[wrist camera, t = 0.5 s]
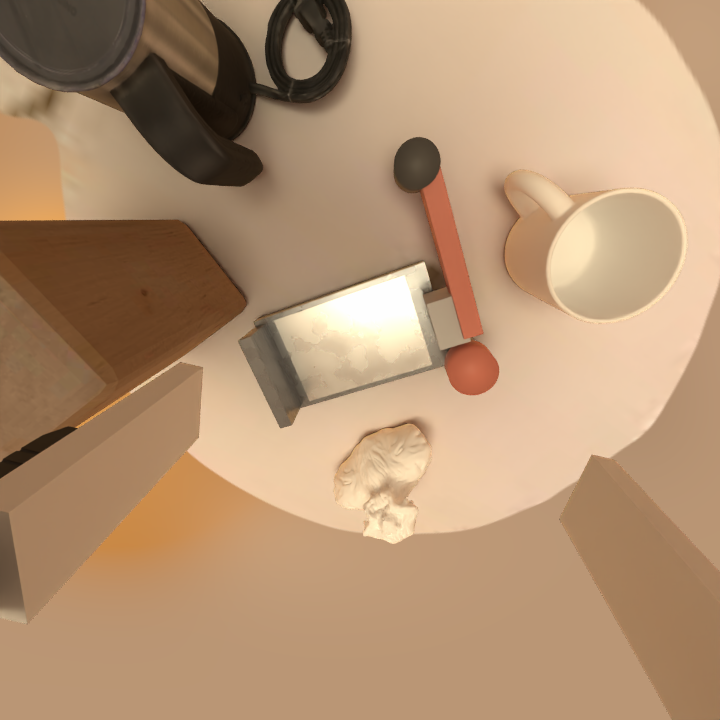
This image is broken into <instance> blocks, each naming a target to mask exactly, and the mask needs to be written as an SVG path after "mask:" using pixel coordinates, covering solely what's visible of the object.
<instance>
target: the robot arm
mask: <svg viewBox="0 0 720 720" xmlns="http://www.w3.org/2000/svg"><path fill="white" fill-rule="evenodd" d="M202 374H203V367H199V366H195V365H190V364H186V363H182V362H180V363H178V364H177V365H175V366H174V367H172V368H171V369H169V370H168V371H166V372H165V373H163V374H161V375H160V376H158V377H157V378H155V379H154V380H152V381H151V382H149V383H148V384H146V385H144V386H143V387H141V388H140V389H138V390H137V391H135V392H134V393H132V394H131V395H129V396H127V397H126V398H124V399H123V400H121V401H120V402H118V403H117V404H115V405H114V406H112V407H110V408H109V409H107V410H106V411H104V412H103V413H101V414H100V415H98V416H96V417H95V418H93V419H92V420H90V421H89V422H87V423H86V424H84V425H83V426H81V427H79V428H74V427H70V426H67V427H64V428H61V429H59V430H56V431H53V432H50V433H47V434H44V435H42V436H40V437H38V438H37V439H35V440H33V441H32V442H30V443H28V444H27V445H25V446H23V447H22V448H21V450H20V451H15V452H13V453H12V454H10V455H8V456H7V457H5V458H3V460H2V462H0V618H2V619H7V620H11V621H15V622H20V623H24V624H28V623H29V622H30V621H31V620H32V619H33V618H34V617H35V616H36V615H37V614H38V613H39V611H40V610H41V609H42V608H43V607H44V606H45V605H46V604H47V603H48V602H49V600H50V599H51V598H52V597H53V596H54V595H55V594H56V593H57V592H58V590H60V588H61V587H62V586H63V585H64V584H65V583H66V582H67V581H68V580H69V579H70V577H71V576H72V575H73V574H74V573H75V572H76V571H77V570H78V569H79V567H80V566H82V564H83V563H84V562H85V561H86V560H87V559H88V558H89V557H90V556H91V555H92V553H93V552H94V551H95V550H96V549H97V548H98V547H99V546H100V545H101V543H103V541H104V540H105V539H106V538H107V537H108V536H109V535H110V534H111V533H112V532H113V530H114V529H115V528H116V527H117V526H118V525H119V524H120V523H121V522H122V520H124V519H125V517H126V516H127V515H128V514H129V513H130V512H131V511H132V510H133V509H134V508H135V506H136V505H137V504H138V503H139V502H140V501H141V500H142V499H143V498H144V497H145V496H146V494H147V493H148V492H149V491H150V490H151V489H152V488H153V487H154V486H155V484H156V483H157V482H158V481H159V480H160V479H161V478H162V477H163V476H164V475H165V474H166V473H167V471H168V470H169V469H170V468H171V467H172V466H173V465H174V464H175V463H176V462H177V461H178V460H179V458H180V457H181V456H182V455H183V454H184V453H185V452H186V451H187V450H188V449H189V448H190V446H191V445H192V444H193V443H194V442H195V441H196V440H197V439H198V438H199V426H200V409H201V391H202ZM559 520H560V521H561V523H562V525H563V527H564V528H565V530H566V532H567V534H568V536H569V537H570V539H571V541H572V543H573V544H574V546H575V548H576V550H577V552H578V553H579V555H580V557H581V559H582V560H583V562H584V564H585V566H586V568H587V569H588V571H589V573H590V575H591V576H592V578H593V580H594V582H595V584H596V585H597V587H598V589H599V591H600V593H601V594H602V596H603V598H604V599H605V601H606V603H607V605H608V607H609V609H610V610H611V612H612V614H613V616H614V617H615V619H616V621H617V623H618V625H619V626H620V628H621V630H622V632H623V633H624V635H625V637H626V639H627V640H628V642H629V644H630V646H631V648H632V649H633V651H634V653H635V655H636V657H637V658H638V660H639V662H640V664H641V665H642V667H643V669H644V671H645V673H646V674H647V676H648V678H649V680H650V681H651V683H652V685H653V687H654V689H655V690H656V692H657V694H658V696H659V697H660V699H661V701H662V703H663V704H664V706H665V708H666V710H667V712H668V714H669V715H670V717H671V719H672V720H720V571H719V570H718V569H717V568H716V567H715V566H714V565H713V564H712V563H711V562H710V561H709V560H708V559H707V558H706V556H705V555H704V554H703V553H702V552H701V551H700V550H699V549H698V548H697V547H696V546H695V545H694V544H693V543H692V541H691V540H690V539H688V537H687V536H686V535H685V534H684V533H683V532H682V531H681V530H680V529H679V528H678V527H677V526H676V524H675V523H674V522H673V521H672V520H671V519H670V518H669V517H668V516H667V515H666V514H665V513H664V512H663V511H662V510H661V509H660V507H659V506H658V505H657V504H656V503H655V502H654V501H653V500H652V499H651V498H650V497H649V496H648V495H647V494H646V493H645V491H644V490H643V489H642V488H641V487H640V486H639V485H638V484H637V483H636V482H635V481H634V480H633V479H632V478H631V477H630V476H629V474H627V472H626V471H625V470H624V469H623V468H622V467H621V466H620V465H619V464H618V463H617V462H616V461H615V460H613V459H609V458H605V457H600V456H596V455H591V457H590V459H589V461H588V463H587V465H586V467H585V469H584V471H583V473H582V475H581V477H580V479H579V481H578V483H577V485H576V487H575V489H574V490H573V492H572V494H571V496H570V498H569V500H568V502H567V504H566V506H565V508H564V510H563V512H562V515H561V516H560V518H559Z"/></svg>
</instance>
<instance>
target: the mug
mask: <svg viewBox="0 0 720 720" xmlns="http://www.w3.org/2000/svg"><path fill="white" fill-rule="evenodd" d="M504 189H505V194H506V196H507V198H508V200H509V201H510V203H511V205H512V206H513V207H514V209H515V210H516V211H517V213H518V214H519V215H520V216H521V217H520V218H519V219H518V220H517V222H516V223H515V224H514V226H513V227H512V229H511V231H510V233H509V235H508V238H507V241H506V245H505V263H506V267H507V270H508V273H509V275H510V276H511V278H512V279H513V281H514V282H515V283H516V284H517V285H518V286H519V287H520V288H521V289H523V290H524V291H526V292H527V293H529V294H531V295H533V296H535V297H537V298H539V299H540V300H542V301H544V302H546V303H548V304H550V305H552V306H553V307H555V308H557V309H559V310H561V311H563V312H565V313H566V314H568V315H570V316H572V317H574V318H576V319H578V320H581V321H584V322H589V323H598V324H602V323H613V322H619V321H622V320H626V319H628V318H631V317H634V316H636V315H638V314H640V313H642V312H644V311H645V310H647V309H648V308H650V307H651V306H652V305H654V304H655V303H656V302H657V301H659V300H660V299H661V298H662V297H663V296H664V295H665V294H666V292H667V291H668V290H669V289H670V288H671V286H672V285H673V283H674V282H675V280H676V279H677V277H678V275H679V273H680V271H681V269H682V267H683V264H684V261H685V257H686V253H687V244H688V240H687V230H686V225H685V223H684V220H683V217H682V216H681V214H680V212H679V210H678V209H677V208H676V207H675V206H674V204H673V203H671V202H670V201H669V200H668V199H667V198H665V197H664V196H662V195H660V194H658V193H656V192H653V191H651V190H646V189H642V188H621V189H614V190H606V191H599V192H591V193H584V194H576V195H569V196H568V195H567V194H566V193H565V192H564V191H563V190H562V189H560V188H559V187H558V186H557V185H556V184H554V183H553V182H552V181H550V180H549V179H547V178H545V177H544V176H542V175H540V174H538V173H535V172H533V171H529V170H517V171H514V172H512V173H511V174H509V175H508V177H507V178H506V180H505V183H504Z"/></svg>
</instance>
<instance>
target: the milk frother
mask: <svg viewBox="0 0 720 720" xmlns="http://www.w3.org/2000/svg"><path fill="white" fill-rule="evenodd" d="M323 4H324V5H325V6H326V7H327V8H328V10H329V12H330V15H331V17H332V20H333V24H331V23H330V22H329V20H328V19H325V18H326V15H327V13H326V10H325V8H324V6H323ZM293 12H294V13H295V16H296V17H297V18H298V19H299V21H300V22H301V24H302V25H303V27H304V28H305V29H306V30H307V31H308V32H309V33H314V35H315V38H316V40H317V41H318V42H319V44H320V45H321V46H322V47H324V48H325V50H326V52H327V53H328V56H327V59H326V62H325V64H324V66H323V67H322V69H321V70H320V71H319V72H318V73H317V74H316V75H314V76H313V77H311V78H308V79H304V80H296V79H293V78H291V77H289V76H288V75H287V73H286V72H285V69H284V67H283V62H282V55H281V46H282V38H283V34H284V30H285V27H286V25H287V23H288V20H289V19H290V17H291V15H292V14H293ZM351 28H352V26H351V19H350V13H349V10H348V7H347V5H346V2H345V0H281V1H280V2H279V3H278V5H277V6H276V8H275V9H274V11H273V13H272V15H271V17H270V20H269V23H268V31H267V37H266V43H265V56H266V63H267V67H268V70H269V73H270V76H271V78H272V80H273V81H274V83H275V84H276V86H277V87H278V90H277V89H273V88H270V87H267V86H264V85H261V84H257V83H256V80H255V74H254V69H253V66H252V62H251V60H250V57H249V55H248V52H247V50H246V49H245V47H244V45H243V43H242V42H241V40H240V39H239V37H238V36H237V35H236V34H235V33H234V32H233V31H232V30H231V29H230V28H229V27H228V26H227V25H226V24H225V23H223V22H222V21H221V20H219V19H217V18H215V17H214V16H213V14H212V13H211V12H210V11H209V10H208V9H207V8H206V7H205V6H204V5H203V4H202V3H201V2H200V0H0V57H1V58H2V59H3V60H5V61H6V62H7V63H8V64H9V65H10V66H11V67H13V68H14V69H15V70H16V72H18V73H20V74H22V75H23V76H25V77H27V78H28V79H29V80H31V81H33V82H35V83H37V84H39V85H42V86H45V87H47V88H49V89H53V90H57V91H62V92H77V93H79V94H82V95H84V96H86V97H89V98H91V99H94V100H96V101H98V102H100V103H103V104H105V105H108V106H110V107H112V108H115V109H117V110H119V111H122V112H124V113H125V114H126V115H127V116H128V118H129V119H130V120H131V122H132V123H133V124H134V126H135V127H136V128H137V130H138V131H139V132H140V133H141V135H142V136H143V137H144V138H145V139H146V141H147V142H148V143H149V144H150V145H151V146H152V147H153V149H154V150H155V151H156V152H157V153H158V154H159V155H160V156H161V157H162V158H163V159H164V160H165V161H166V162H168V163H169V164H170V165H171V166H172V167H173V168H174V169H176V170H177V171H178V172H179V173H181V174H182V175H184V176H185V177H187V178H188V179H190V180H192V181H194V182H196V183H199V184H205V185H219V186H239V187H241V186H244V185H246V184H247V183H249V182H251V181H252V180H253V179H254V178H255V177H257V176H258V175H259V174H260V173H261V172H262V169H263V165H262V162H261V160H260V159H259V157H258V155H257V154H256V153H255V152H254V151H253V150H250V149H248V148H246V147H243V146H241V145H239V144H236V143H234V142H232V140H233V139H235V138H236V137H237V136H239V135H240V133H241V132H242V131H243V130H244V128H245V127H246V125H247V124H248V122H249V120H250V117H251V115H252V113H253V108H254V105H255V98H256V94H257V95H262V96H266V97H269V98H273V99H277V100H282V101H288V102H296V103H309V102H313V101H316V100H318V99H320V98H322V97H324V96H325V95H326V94H328V93H329V92H330V91H331V90H332V89H333V88H334V87H335V85H336V84H337V83H338V81H339V80H340V78H341V76H342V75H343V72H344V70H345V67H346V64H347V61H348V57H349V52H350V46H351Z"/></svg>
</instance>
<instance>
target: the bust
mask: <svg viewBox="0 0 720 720" xmlns="http://www.w3.org/2000/svg"><path fill="white" fill-rule="evenodd" d="M431 450H432V449H431V445H430V444H429V443H428V441H427V440H426V438H425V436H424V435H423V434H422V432H421V431H420V430H419V429H418V428H417V427H416V426H415V425H413V424H405V425H402V426H398V427H396V428H384V429H381V430H380V431H378V432H376V433H373V434H371V435H369V436H366V437H365V438H364V439H363V440H362V441H361V442H360V443H359V444H358V445H357V446H356V447H355V448H354V450H353V451H352V454H351V455H350V457H349V458H348V459H347V460H346V461H345V462H344V463H342V464H341V466H340V467H339V469H338V472H337V473H336V475H335V477H334V484H335V488H334V490H333V492H334V495H335V496H336V498H335V500H336V502H337V503H338V504H339V505H340V506H342V507H344V508H346V509H359V510H363V509H364V512H365V514H366V515H367V517H368V520H369V522H368V521H364V526H365V529H364V531H363V536H370V537H373V538H376V539H383V540H385V541H387V542H390V543H392V544H395V543H397V542H399V541H402V540H403V539H404V538H407V537H408V536H411V535H413V534H414V528H415V523H416V517H417V514H418V508H417V507H416V506H415V505H413V501H412V500H411V501H408V499H407V498H406V497H408V496H409V493H410V492H411V490H412V489H413V487H415V486H416V485H417V483H418V480H419V479H420V478H421V477H422V476H423V475H424V473H425V471H426V468H427V467H428V465H429V464H430V461H431V459H432V457H431Z"/></svg>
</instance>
